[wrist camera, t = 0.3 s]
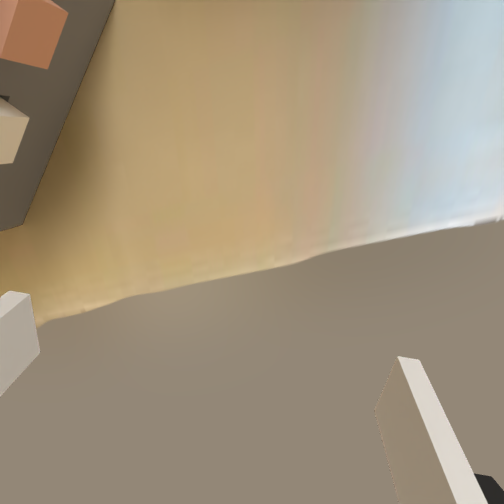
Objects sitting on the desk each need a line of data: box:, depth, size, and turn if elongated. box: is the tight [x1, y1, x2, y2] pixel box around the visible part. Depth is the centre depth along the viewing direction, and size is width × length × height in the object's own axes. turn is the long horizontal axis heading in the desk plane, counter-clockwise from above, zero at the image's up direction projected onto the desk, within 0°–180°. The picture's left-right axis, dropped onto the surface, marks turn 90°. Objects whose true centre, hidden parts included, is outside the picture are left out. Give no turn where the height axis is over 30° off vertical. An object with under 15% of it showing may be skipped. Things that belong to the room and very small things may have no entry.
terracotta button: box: [0, 0, 68, 69], centre depth 25 cm, size 5×6×5 cm
